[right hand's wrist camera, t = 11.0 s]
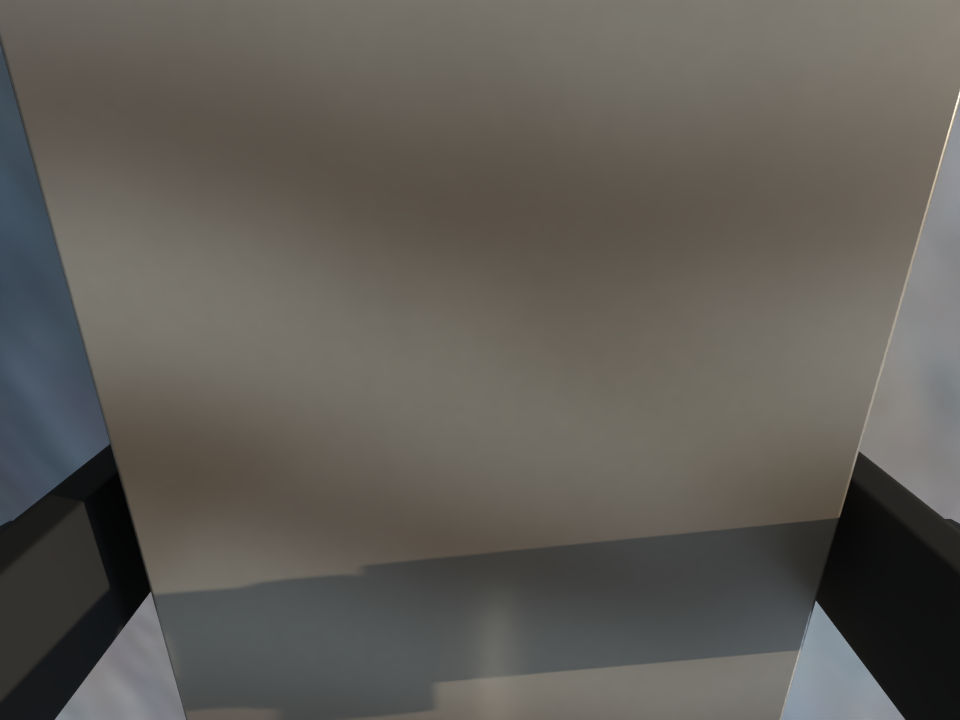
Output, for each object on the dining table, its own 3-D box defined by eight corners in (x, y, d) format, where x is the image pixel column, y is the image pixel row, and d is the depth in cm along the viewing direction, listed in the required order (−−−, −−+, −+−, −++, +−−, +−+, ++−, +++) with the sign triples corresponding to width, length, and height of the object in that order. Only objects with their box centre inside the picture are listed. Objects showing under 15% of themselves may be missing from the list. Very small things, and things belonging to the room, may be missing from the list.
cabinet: (198, -408, 11) (-533, -1863, 3) (772, -407, 11) (1532, -1858, 3) (313, 489, 18) (190, 740, 10) (650, 490, 18) (777, 742, 10)
